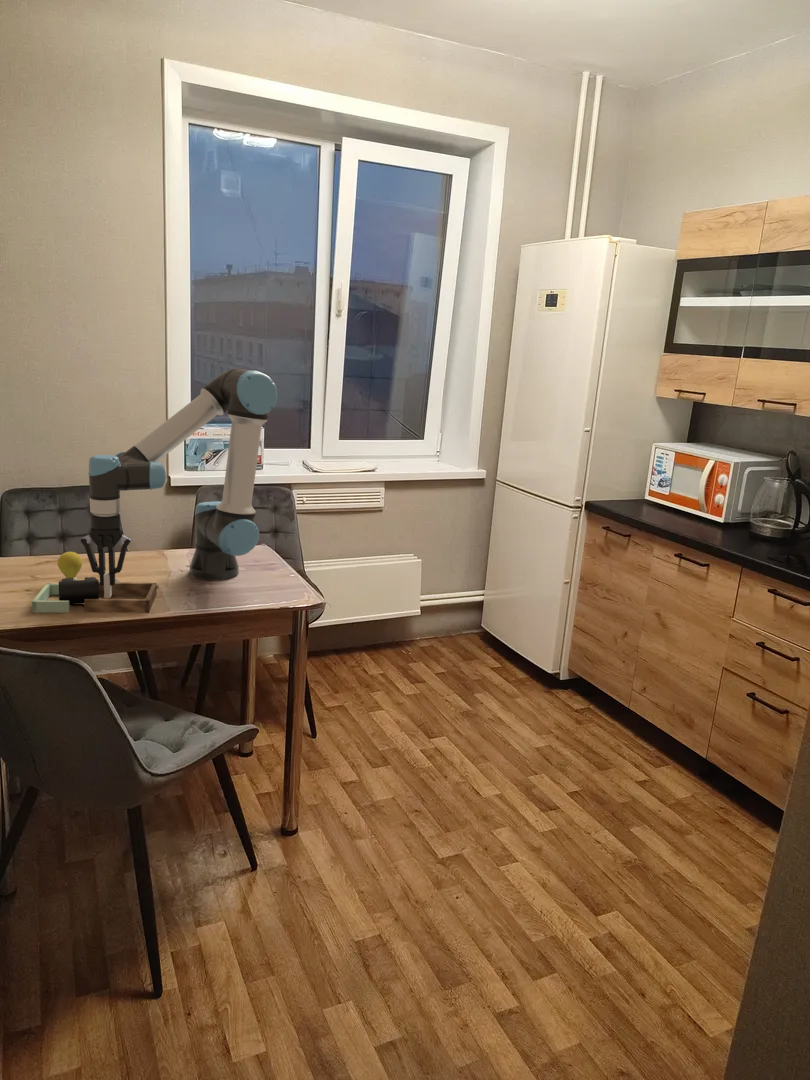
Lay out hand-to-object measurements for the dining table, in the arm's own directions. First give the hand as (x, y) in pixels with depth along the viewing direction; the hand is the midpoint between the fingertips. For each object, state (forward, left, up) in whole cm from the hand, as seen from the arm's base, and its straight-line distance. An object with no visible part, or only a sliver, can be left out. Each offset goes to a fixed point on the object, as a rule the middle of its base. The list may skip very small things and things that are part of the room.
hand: (108, 596), depth 211 cm
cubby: (-3, 0, -2) cm, 4 cm away
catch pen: (+13, 0, -2) cm, 13 cm away
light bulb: (+13, -15, -2) cm, 20 cm away
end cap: (+7, 0, -2) cm, 8 cm away
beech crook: (-7, -11, -2) cm, 13 cm away
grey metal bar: (+2, -18, -2) cm, 18 cm away
